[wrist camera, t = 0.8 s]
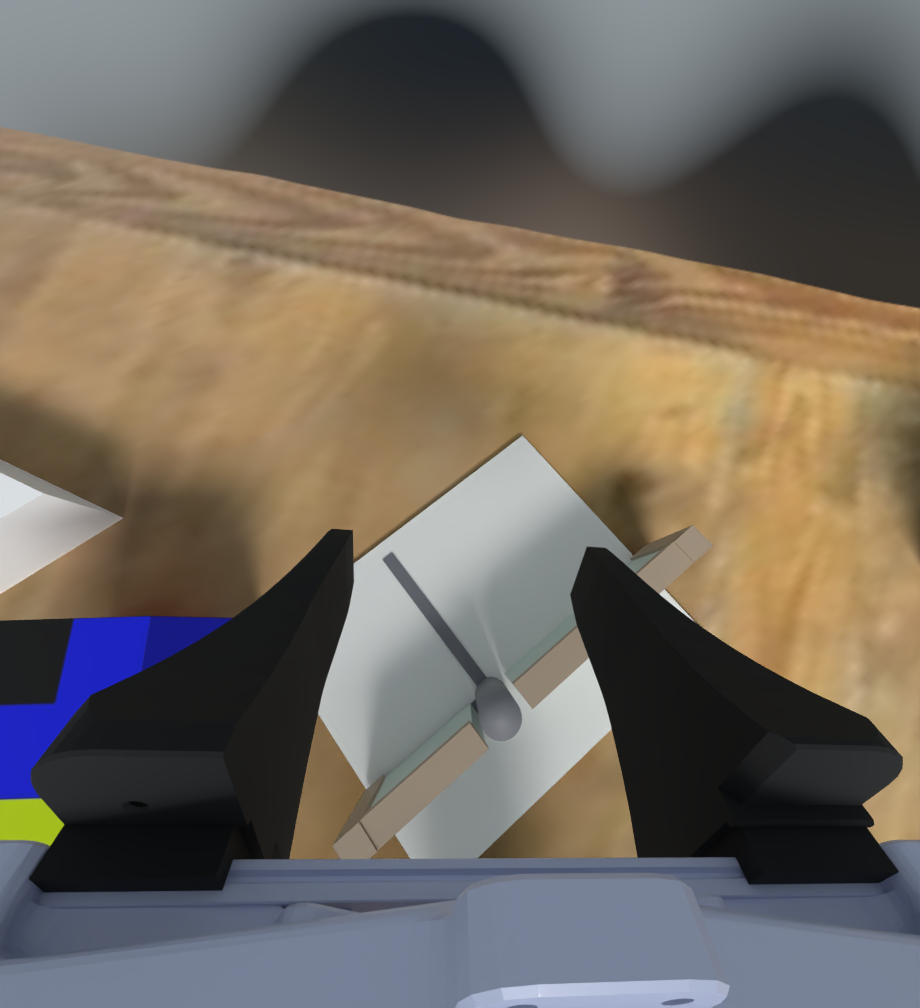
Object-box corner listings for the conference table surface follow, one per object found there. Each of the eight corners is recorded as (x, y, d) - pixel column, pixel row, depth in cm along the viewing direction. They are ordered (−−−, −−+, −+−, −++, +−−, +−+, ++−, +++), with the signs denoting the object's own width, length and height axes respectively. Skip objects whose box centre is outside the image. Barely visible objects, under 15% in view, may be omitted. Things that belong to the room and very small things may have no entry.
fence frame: (513, 696, 26) (530, 721, 19) (384, 812, 24) (354, 882, 18) (492, 669, 26) (503, 684, 20) (364, 781, 24) (328, 839, 18)
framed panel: (516, 689, 25) (532, 709, 19) (502, 670, 25) (513, 684, 20) (659, 561, 27) (712, 545, 21) (644, 545, 28) (692, 524, 22)
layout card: (704, 635, 27) (708, 636, 26) (436, 893, 23) (435, 900, 22) (521, 437, 31) (522, 435, 30) (268, 630, 27) (264, 630, 26)
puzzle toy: (260, 618, 27) (151, 615, 18) (243, 792, 24) (101, 902, 15) (110, 623, 27) (-82, 623, 18) (75, 797, 24) (-176, 911, 15)
